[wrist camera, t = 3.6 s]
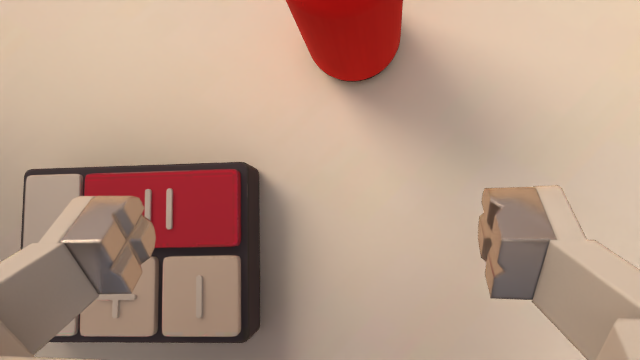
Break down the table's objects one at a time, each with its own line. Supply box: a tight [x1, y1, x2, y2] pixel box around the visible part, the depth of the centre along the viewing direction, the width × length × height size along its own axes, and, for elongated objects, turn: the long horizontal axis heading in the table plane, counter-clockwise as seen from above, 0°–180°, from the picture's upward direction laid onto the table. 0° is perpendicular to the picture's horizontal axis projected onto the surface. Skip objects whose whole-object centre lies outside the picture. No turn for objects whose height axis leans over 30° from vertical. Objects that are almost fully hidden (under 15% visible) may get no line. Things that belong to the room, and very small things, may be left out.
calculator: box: [21, 162, 260, 343], centre depth 30 cm, size 11×4×15 cm
